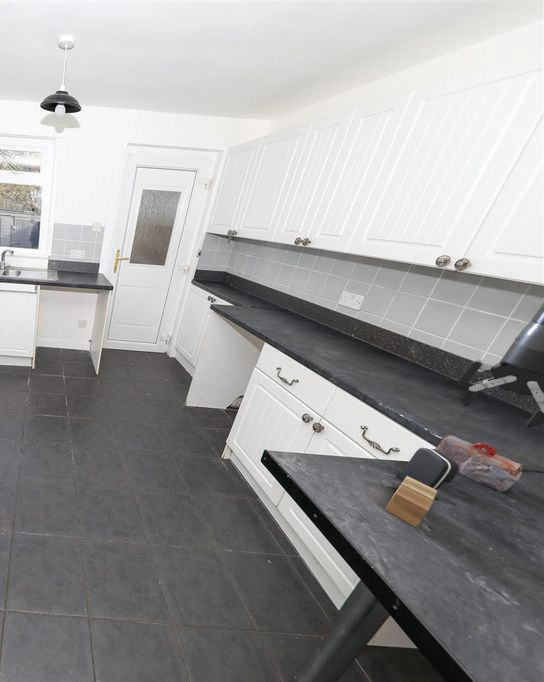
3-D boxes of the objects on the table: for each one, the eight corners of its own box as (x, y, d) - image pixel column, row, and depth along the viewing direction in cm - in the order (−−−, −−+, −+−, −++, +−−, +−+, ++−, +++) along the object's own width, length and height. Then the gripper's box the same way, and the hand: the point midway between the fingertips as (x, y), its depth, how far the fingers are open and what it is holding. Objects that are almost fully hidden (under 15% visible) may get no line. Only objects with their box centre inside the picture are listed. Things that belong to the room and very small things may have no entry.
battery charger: (438, 504, 78) (467, 467, 74) (420, 501, 78) (449, 464, 74) (411, 481, 85) (436, 446, 80) (395, 478, 85) (419, 443, 80)
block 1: (396, 491, 81) (407, 475, 79) (425, 506, 77) (437, 490, 75) (390, 499, 78) (402, 483, 76) (421, 515, 74) (433, 499, 72)
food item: (505, 487, 86) (532, 458, 82) (501, 499, 82) (529, 468, 78) (430, 454, 96) (450, 426, 93) (423, 462, 92) (444, 434, 89)
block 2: (390, 500, 78) (401, 485, 76) (420, 517, 74) (433, 501, 72) (384, 509, 75) (396, 493, 73) (415, 527, 71) (428, 510, 69)
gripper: (609, 358, 62) (551, 428, 69) (489, 332, 73) (448, 395, 79) (615, 365, 58) (552, 439, 65) (487, 337, 69) (444, 403, 75)
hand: (495, 415), depth 72 cm, fingers open, 8 cm apart
